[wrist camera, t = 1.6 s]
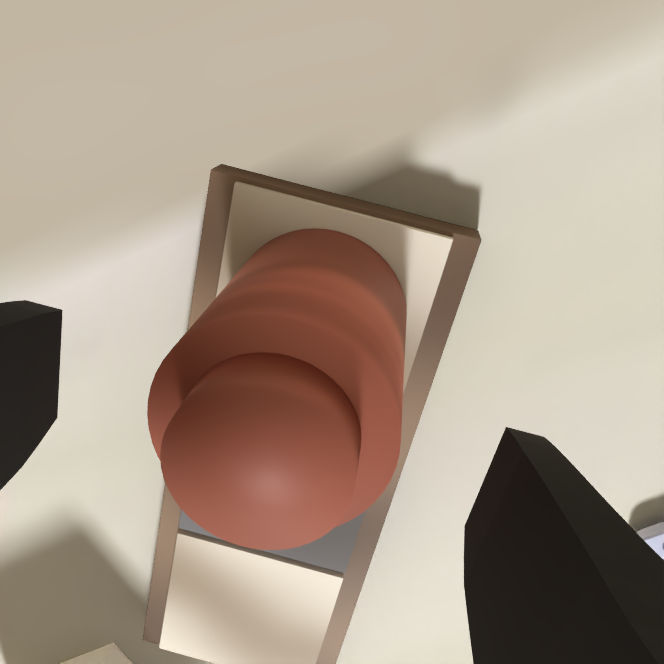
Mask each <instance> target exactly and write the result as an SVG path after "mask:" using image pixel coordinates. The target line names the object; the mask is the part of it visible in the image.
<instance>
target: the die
mask: <svg viewBox="0 0 664 664" xmlns="http://www.w3.org/2000/svg"><path fill="white" fill-rule="evenodd" d="M59 664H133V663H132V662H131V661H130V660H129V659H128V658H127V657H126V656H125V655H124V654H123V653H122V652H121V651H120V649H119V648H118V647H117V646H116V645H115V644H114V643H110V644H108V645H105V646H103V647H100V648H98V649H95V650H93V651H90V652H87V653H85V654H82V655H80V656H77V657H75V658H72V659H70V660H67V661H65V662H62V663H59Z"/></svg>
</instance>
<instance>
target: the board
mask: <svg viewBox="0 0 664 664" xmlns="http://www.w3.org/2000/svg"><path fill="white" fill-rule="evenodd" d="M312 228H318V229H329V230H334V231H339V232H342V233H345V234H348V235H351V236H353V237H355V238H357V239H359V240H361V241H363V242H364V243H366V244H367V245H369V246H370V247H372V248H373V249H374V250H375V251H376V252H378V253H379V254H380V255H381V256H382V257H383V258H384V259H385V260H386V262H387V263H388V264H389V265H390V267H391V268H392V270H393V271H394V272H395V274H396V276H397V278H398V280H399V282H400V284H401V287H402V290H403V293H404V297H405V302H406V313H407V319H406V341H405V363H404V385H403V407H402V429H401V445H400V454H399V458H398V462H397V466H396V469H395V471H394V474H393V476H392V478H391V481H390V482H389V484H388V485H387V487H386V489H385V490H384V492H383V493H382V494H381V495H380V497H379V498H378V499H377V500H376V501H375V502H374V503H373V504H372V505H371V506H370V507H369V508H368V509H366V510H365V511H364V512H363V513H361V514H360V515H358V516H357V517H355V518H354V519H352V520H350V521H348V522H346V523H344V524H342V525H340V526H337V527H334V528H333V529H332V530H331V531H329V532H328V533H327V534H325V535H324V536H322V537H321V538H319V539H317V540H315V541H313V542H311V543H308V544H305V545H302V546H299V547H295V548H290V549H282V550H260V549H252V548H247V547H243V546H239V545H236V544H233V543H230V542H227V541H225V540H223V539H220V538H218V537H216V536H214V535H213V534H211V533H209V532H207V531H206V530H204V529H203V528H202V527H200V526H199V525H197V524H196V523H195V522H194V521H193V520H192V519H191V518H189V517H188V516H187V515H186V514H185V512H184V511H183V510H182V509H181V508H180V507H179V505H178V504H177V503H176V501H175V500H174V499H173V497H172V495H171V493H170V491H169V490H168V487H167V485H166V483H165V490H164V497H163V504H162V511H161V518H160V525H159V532H158V539H157V545H156V552H155V559H154V566H153V573H152V580H151V587H150V594H149V601H148V607H147V614H146V621H145V628H144V635H143V640H145V641H149V642H153V643H156V644H160V645H159V648H160V649H164V650H167V651H171V652H175V653H178V654H182V655H185V656H189V657H193V658H196V659H200V660H203V661H207V662H211V663H214V664H336V661H337V658H338V655H339V652H340V649H341V646H342V644H343V641H344V638H345V635H346V632H347V629H348V626H349V623H350V620H351V617H352V615H353V612H354V609H355V606H356V603H357V600H358V597H359V594H360V591H361V588H362V585H363V583H364V580H365V577H366V574H367V571H368V568H369V565H370V562H371V559H372V556H373V554H374V551H375V548H376V545H377V542H378V539H379V536H380V533H381V530H382V527H383V524H384V522H385V519H386V516H387V513H388V510H389V507H390V504H391V501H392V498H393V495H394V492H395V490H396V487H397V484H398V481H399V478H400V475H401V472H402V469H403V466H404V463H405V461H406V458H407V455H408V452H409V449H410V446H411V443H412V440H413V437H414V434H415V431H416V429H417V426H418V423H419V420H420V417H421V414H422V411H423V408H424V405H425V402H426V399H427V397H428V394H429V391H430V388H431V385H432V382H433V379H434V376H435V373H436V370H437V368H438V365H439V362H440V359H441V356H442V353H443V350H444V347H445V344H446V341H447V338H448V336H449V333H450V330H451V327H452V324H453V321H454V318H455V315H456V312H457V309H458V306H459V304H460V301H461V298H462V295H463V292H464V289H465V286H466V283H467V280H468V277H469V275H470V272H471V269H472V266H473V263H474V260H475V257H476V254H477V251H478V248H479V245H480V243H481V238H480V235H479V232H478V231H477V230H473V229H469V228H466V227H462V226H458V225H454V224H450V223H446V222H442V221H439V220H435V219H431V218H427V217H423V216H419V215H416V214H412V213H408V212H404V211H400V210H396V209H392V208H389V207H385V206H381V205H377V204H373V203H369V202H366V201H362V200H358V199H354V198H350V197H346V196H342V195H339V194H335V193H331V192H327V191H323V190H319V189H316V188H312V187H308V186H304V185H300V184H296V183H292V182H289V181H285V180H281V179H277V178H273V177H269V176H266V175H262V174H258V173H254V172H250V171H246V170H242V169H239V168H235V167H231V166H227V165H223V164H221V165H219V166H217V167H215V168H213V169H212V170H211V173H210V180H209V187H208V194H207V201H206V208H205V214H204V221H203V228H202V235H201V242H200V249H199V256H198V263H197V270H196V277H195V283H194V290H193V297H192V304H191V311H190V318H189V325H188V330H189V329H190V328H191V326H192V325H193V324H194V323H195V322H196V321H197V319H198V318H199V317H200V316H201V315H202V314H203V312H204V311H205V310H206V309H207V308H208V306H209V305H210V304H211V303H212V302H213V301H214V299H215V298H216V297H217V296H218V295H219V294H220V292H221V291H222V290H223V289H224V288H225V287H226V285H227V284H228V283H229V282H230V281H231V280H232V278H233V277H234V276H235V275H236V274H237V273H238V271H239V270H240V269H241V268H242V267H243V266H244V264H245V263H246V262H247V261H248V260H249V259H250V257H251V256H252V255H253V254H254V253H255V252H256V251H257V250H258V249H259V248H260V247H262V246H263V245H264V244H266V243H267V242H269V241H270V240H272V239H274V238H276V237H278V236H280V235H282V234H285V233H288V232H291V231H296V230H301V229H312Z"/></svg>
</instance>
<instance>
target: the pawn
mask: <svg viewBox="0 0 664 664" xmlns="http://www.w3.org/2000/svg"><path fill="white" fill-rule="evenodd" d="M406 319H407V313H406V302H405V297H404V293H403V290H402V287H401V284H400V282H399V280H398V278H397V276H396V274H395V272H394V271H393V270H392V268H391V267H390V265H389V264H388V263H387V262H386V260H385V259H384V258H383V257H382V256H381V255H380V254H379V253H378V252H376V251H375V250H374V249H373V248H372V247H370V246H369V245H367V244H366V243H364V242H363V241H361V240H359V239H357V238H355V237H353V236H351V235H348V234H345V233H342V232H339V231H334V230H329V229H318V228H312V229H301V230H296V231H291V232H288V233H285V234H282V235H280V236H278V237H276V238H274V239H272V240H270V241H269V242H267V243H266V244H264V245H263V246H262V247H260V248H259V249H258V250H257V251H256V252H255V253H254V254H253V255H252V256H251V257H250V259H249V260H248V261H247V262H246V263H245V264H244V266H243V267H242V268H241V269H240V270H239V271H238V273H237V274H236V275H235V276H234V277H233V278H232V280H231V281H230V282H229V283H228V284H227V285H226V287H225V288H224V289H223V290H222V291H221V292H220V294H219V295H218V296H217V297H216V298H215V299H214V301H213V302H212V303H211V304H210V305H209V306H208V308H207V309H206V310H205V311H204V312H203V314H202V315H201V316H200V317H199V318H198V319H197V321H196V322H195V323H194V324H193V325H192V326H191V328H190V329H189V330H188V331H187V332H186V333H185V335H184V336H183V337H182V338H181V339H180V340H179V342H178V343H177V344H176V345H175V346H174V347H173V349H172V350H171V351H170V352H169V354H168V355H167V356H166V357H165V359H164V360H163V361H162V363H161V365H160V367H159V368H158V370H157V372H156V374H155V377H154V379H153V382H152V385H151V388H150V393H149V398H148V414H147V415H148V425H149V431H150V435H151V439H152V443H153V445H154V448H155V450H156V453H157V456H158V457H159V459H160V461H161V469H162V473H163V477H164V480H165V482H166V485H167V487H168V490H169V491H170V493H171V495H172V497H173V499H174V500H175V501H176V503H177V504H178V505H179V507H180V508H181V509H182V510H183V511H184V512H185V514H186V515H187V516H188V517H189V518H191V519H192V520H193V521H194V522H195V523H196V524H197V525H199V526H200V527H202V528H203V529H204V530H206V531H207V532H209V533H211V534H213V535H214V536H216V537H218V538H220V539H223V540H225V541H227V542H230V543H233V544H236V545H239V546H243V547H247V548H252V549H260V550H282V549H290V548H295V547H299V546H302V545H305V544H308V543H311V542H313V541H315V540H317V539H319V538H321V537H322V536H324V535H325V534H327V533H328V532H329V531H331V530H332V529H333V528H334V527H337V526H340V525H342V524H344V523H346V522H348V521H350V520H352V519H354V518H355V517H357V516H358V515H360V514H361V513H363V512H364V511H365V510H366V509H368V508H369V507H370V506H371V505H372V504H373V503H374V502H375V501H376V500H377V499H378V498H379V497H380V495H381V494H382V493H383V492H384V490H385V489H386V487H387V485H388V484H389V482H390V481H391V478H392V476H393V474H394V471H395V469H396V466H397V462H398V458H399V454H400V445H401V429H402V407H403V385H404V363H405V341H406Z"/></svg>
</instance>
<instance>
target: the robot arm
mask: <svg viewBox="0 0 664 664" xmlns="http://www.w3.org/2000/svg"><path fill="white" fill-rule="evenodd" d="M61 328H62V310H60V309H56V308H53V307H49V306H45V305H41V304H37V303H34V302H30V301H26V300H24V301H12V302H5V303H0V490H1V489H2V488H3V487H4V486H5V485H6V484H7V482H8V481H9V480H10V479H11V478H12V477H13V476H14V475H15V474H16V473H17V472H18V471H19V469H20V468H21V467H22V466H23V465H24V464H25V462H26V461H27V459H28V458H29V457H30V455H31V454H32V453H33V451H34V450H35V449H36V447H37V446H38V445H39V443H40V442H41V440H42V439H43V437H44V436H45V435H46V433H47V432H48V430H49V429H50V427H51V426H52V424H53V423H54V421H55V420H56V419H57V411H58V390H59V369H60V349H61ZM464 588H465V597H466V606H467V614H468V623H469V631H470V639H471V647H472V654H473V662H474V664H664V521H663V522H661V523H658V524H655V525H652V526H649V527H646V528H643V529H641V530H639V531H637V532H635V531H634V530H633V529H632V528H631V527H630V526H629V524H628V523H627V522H626V521H625V520H624V519H623V518H622V517H621V516H620V515H619V514H618V513H617V512H616V511H615V510H614V509H613V508H612V507H611V505H610V504H609V503H608V502H607V501H606V500H605V499H604V498H603V497H602V496H601V495H600V494H599V493H598V492H597V490H596V489H595V488H594V487H593V486H592V485H591V484H590V483H589V482H588V481H587V480H586V479H585V477H584V476H583V475H582V474H581V473H580V472H579V471H578V470H577V469H576V468H575V467H574V466H573V465H572V464H571V462H570V461H569V460H568V459H567V458H566V457H565V456H564V455H563V454H562V453H561V452H560V451H559V450H558V449H557V448H556V447H555V446H554V445H553V444H552V443H551V442H549V441H548V440H547V439H546V438H545V437H542V436H538V435H534V434H530V433H527V432H523V431H519V430H515V429H512V428H508V427H506V429H505V431H504V433H503V436H502V438H501V441H500V443H499V445H498V448H497V450H496V453H495V455H494V457H493V460H492V462H491V465H490V467H489V469H488V472H487V474H486V477H485V479H484V481H483V484H482V486H481V489H480V491H479V493H478V496H477V498H476V500H475V503H474V505H473V508H472V510H471V512H470V515H469V517H468V520H467V522H466V524H465V537H464Z"/></svg>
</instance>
